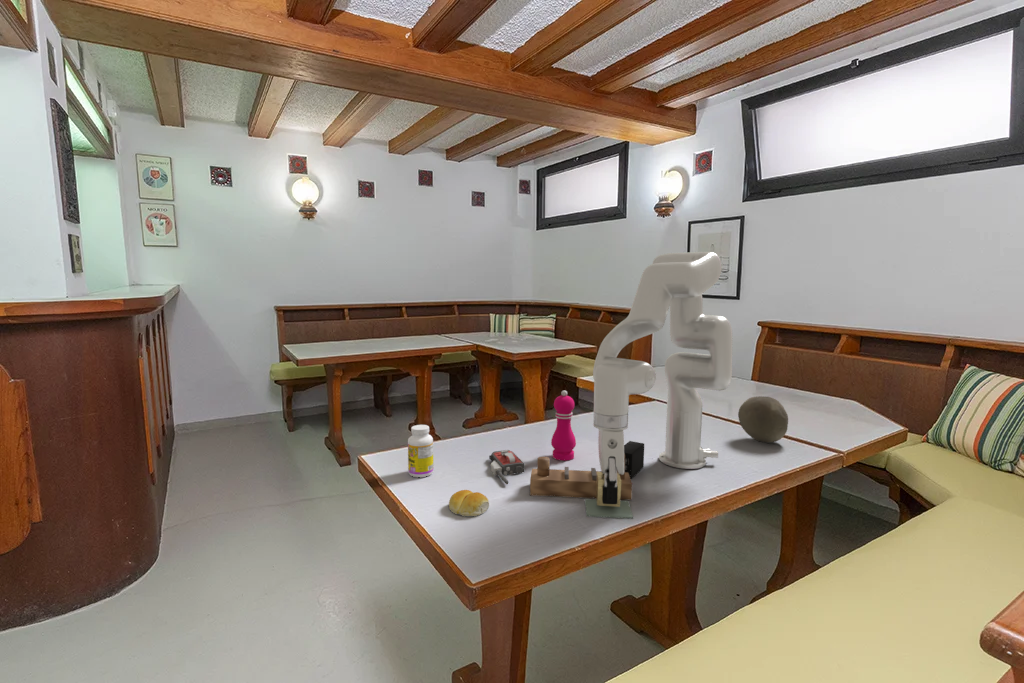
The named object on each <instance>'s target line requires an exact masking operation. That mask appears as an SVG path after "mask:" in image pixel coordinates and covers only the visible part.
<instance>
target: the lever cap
mask: <svg viewBox="0 0 1024 683" xmlns="http://www.w3.org/2000/svg"><path fill="white" fill-rule="evenodd" d="M607 478H609V476H607ZM603 486H604V474H603V473H602V472H597V481H596V498H595V499H596V502H597V505H600V506H614V507H620V501H621V500H620V497H621V478H620V475H619V473H617V486H618V498H617V504H603V502H602V498H603Z"/></svg>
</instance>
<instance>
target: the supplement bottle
mask: <svg viewBox="0 0 1024 683" xmlns="http://www.w3.org/2000/svg"><path fill="white" fill-rule="evenodd" d="M410 429H411V430H410V432H411V436H409V437H408V439H407V463H408V464H407V465H408V467H407V468H408V474H409V476H411V477H412V476H413V478H418V477H420V478H426V476H427V477H429V476H431V475H433V473H434V438H433V436H432V435H431V434H429V433H430V426H429V425H427V424H416V425H412V426H411V428H410Z"/></svg>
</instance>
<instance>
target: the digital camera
mask: <svg viewBox="0 0 1024 683" xmlns="http://www.w3.org/2000/svg"><path fill="white" fill-rule="evenodd" d="M624 454H625V472H628V473H629V476H630V479H631V480H633V478H634V477H635V476H636V475H637V474H638V473H640V471H641V470H642V469H643V468H644V467H645V466H644V464H645V458H644V457H645V443H644V442H638V441H632V440H629V441H628V442H627V443H624Z"/></svg>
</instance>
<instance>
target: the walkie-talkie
mask: <svg viewBox="0 0 1024 683" xmlns="http://www.w3.org/2000/svg"><path fill="white" fill-rule="evenodd" d="M488 457H489V460H490V461H492V462H491V463H490V471H491V472H492V474H494V475H495V476H498V478H500V479H501V481H502V482H503V483H504V484H505V485H509V480H508V478H506V477H505V476H507V474H508V475H514V473H516V474H523V473H522V472H524V473H525V469H526V468H525V462H524V461H523V460H522V459H520V458H519V457H518V456H517V454H516V453H514V452H513V451H512V450H509V449H507V450H506V449H505V450H496V451H493V452H492V453H491V455H489V456H488ZM494 475H493V476H494Z"/></svg>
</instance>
